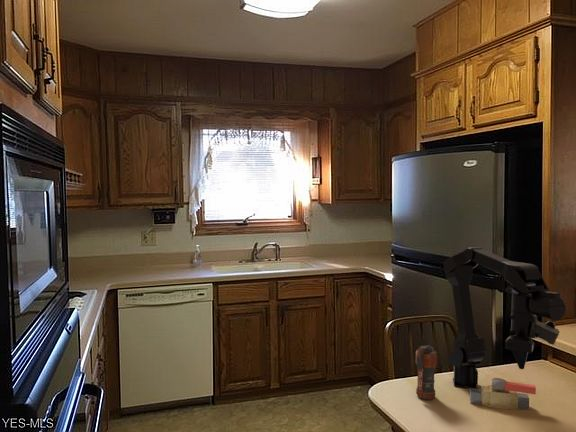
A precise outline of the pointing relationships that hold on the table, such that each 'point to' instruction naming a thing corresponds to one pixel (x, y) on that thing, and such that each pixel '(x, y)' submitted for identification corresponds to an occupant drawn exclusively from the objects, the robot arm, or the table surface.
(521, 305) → the robot arm
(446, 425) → the table surface
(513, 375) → the table surface
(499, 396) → the valve pipe
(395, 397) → the table surface
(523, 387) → the lever
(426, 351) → the grenade
